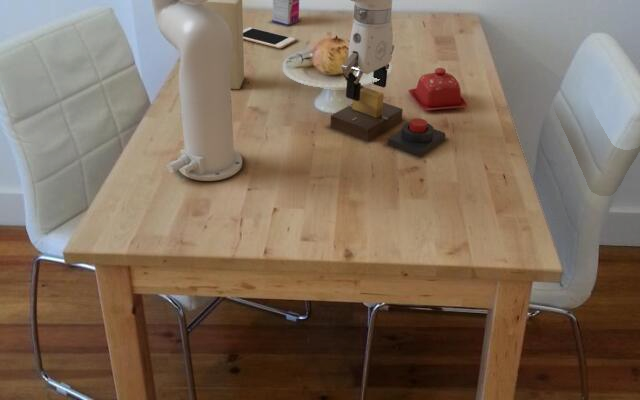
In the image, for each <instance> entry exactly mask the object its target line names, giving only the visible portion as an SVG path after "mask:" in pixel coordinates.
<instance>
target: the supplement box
mask: <svg viewBox="0 0 640 400" xmlns="http://www.w3.org/2000/svg"><path fill="white" fill-rule="evenodd" d="M299 21H300V0H272V23H275V24H279V25H282V26H287V27H288V26H290V25H292V24H295V23H296V22H297V23H298V22H299Z"/></svg>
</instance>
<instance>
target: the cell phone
mask: <svg viewBox="0 0 640 400" xmlns="http://www.w3.org/2000/svg"><path fill="white" fill-rule="evenodd" d="M296 39H297V38H296V37H292V36H289V35H284V34H281V33H280V34H279V33H276V32H272V31H267V30H264V29H260V28H255V27H250V26H249V27H245V28H243V40H245V41H248V42H254V43H257V44H261V45H264V46H265V45H266V46H269V47H272V48H277V49H283V48H285V47H286V46H287V47H288V46H289V45H290V44H292V43H294V42H296Z"/></svg>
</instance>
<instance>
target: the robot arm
mask: <svg viewBox="0 0 640 400" xmlns="http://www.w3.org/2000/svg"><path fill="white" fill-rule="evenodd" d="M206 1H208V0H151V5H152V9H153V14H154V19H155V22H156V25H157V29H158V30H159V32H160V34H161V36H162V37H163V38H164V39H165V40H166V41H167V42H168V43H169V44H170V45H171V46H172V47H174V48H175V50H177V51H178V53H179V56H180V57H179V58H180V62H179V70H178V92H179V100H180V113H181V125H182V135H183V146H184V147H183V148H182V149H180V151H179V152H180V156H178V158H177V159H176V160H173V161H171V162H169V163H167V164H166V166H165V167H166V171H167V172H168V173H169V174H173V173H175V172H178V171H179V172H180V173H181V174H182V175H183V176H185V177H186V178H189V179H191V180H195V181H200V182H215V181H221V180H224V179H227V178H231V177H232V176H234V175H236V174H237V173H238V172H239V171H240V170H241V169H242V167H243V157H242V155H241V153H239V152H238V151H237V150H235V149H234V148H235V147H234V129H233V125H234V124H233V107H232V106H233V105H232V89H231V84H230V66H231V57H232V49H233V37H232V33H231V30H230V28H229V26H228V24H227V23H226V21H225V20H224V19H223V18H222V17H221V16H220V15H219V14H218V13H216V12H215V11H213V10H212V9H210V8H209V7H207V6H206V5H204V4H203V3H205V2H206ZM350 1H351V2H354V4H353V5H354V7H353V23H352V27H351V33H350V38H349V43H348V44H349V46H348V56H347V59H346V60H345V61H344V63H342V65H341V70H342V73H343V77H344V78H345V79H344V80H345V81H346V91H345V97H346V98H347V99H350V100H352V101H353V100H355V101H359V100H360V88H361V85H362V82H360V81H361V78H362V77H363V74H365V75H368V74H371V73H373V74H372V78H373V77H374V78H377V79H380V80H379V81H377V82H374V83H373V82H372V84H373V85H374V86H377V87H380V88H382V89H383V88H386V87H387V80H388V70H389V69H390V63H391V61H392V59H393V56H392V55H393V53H394V50H395V45H394V44H393V21H392V8H393V0H350ZM354 72H356V75H355V74H354Z"/></svg>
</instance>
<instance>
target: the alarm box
mask: <svg viewBox="0 0 640 400" xmlns="http://www.w3.org/2000/svg"><path fill="white" fill-rule="evenodd" d="M409 125H410V121H406V122H405V123H403V124H402V127H401V129H400V130H399V131H397V132H396V133H394V134H392V135H391V136H390V137H388V138H387V146H389V147H391V148H395V149H396V150H399V151H402V152H405V153H408V154H410V155H412V156H415V157H418V158H421V157H423V156H425V154H427V153H429V152H430V151H432V150H433V149H434V148H436V147H438V145H440V144H441V143H443V142H444V141H445V140H446V133H447V132H444V131H441V130H438V129H436V128H434V126H432V124H431V123H428V122H427V129H426V132H421V133H417V132H413V131H410V130H409Z"/></svg>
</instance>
